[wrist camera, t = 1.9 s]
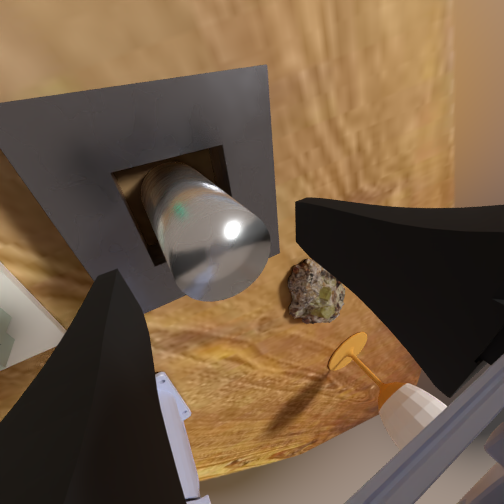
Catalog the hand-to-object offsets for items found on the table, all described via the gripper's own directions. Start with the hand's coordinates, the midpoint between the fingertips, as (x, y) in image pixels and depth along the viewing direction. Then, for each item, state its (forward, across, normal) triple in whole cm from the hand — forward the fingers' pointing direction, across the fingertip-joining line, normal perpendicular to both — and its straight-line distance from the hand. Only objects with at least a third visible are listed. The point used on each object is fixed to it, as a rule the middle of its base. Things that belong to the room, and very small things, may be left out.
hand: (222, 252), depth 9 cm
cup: (+8, -20, +36) cm, 42 cm away
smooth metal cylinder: (+8, 0, 0) cm, 8 cm away
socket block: (+8, 0, 0) cm, 8 cm away
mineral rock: (+8, -11, +15) cm, 20 cm away
